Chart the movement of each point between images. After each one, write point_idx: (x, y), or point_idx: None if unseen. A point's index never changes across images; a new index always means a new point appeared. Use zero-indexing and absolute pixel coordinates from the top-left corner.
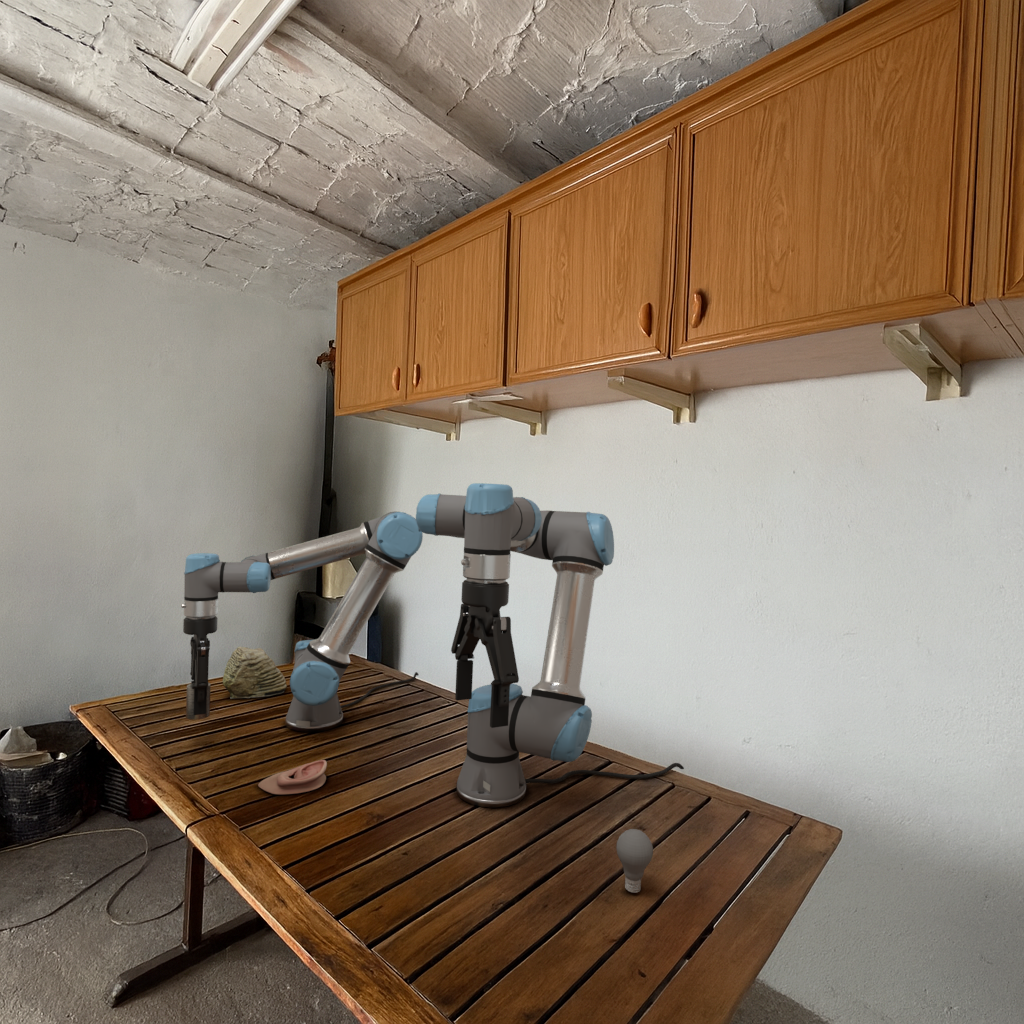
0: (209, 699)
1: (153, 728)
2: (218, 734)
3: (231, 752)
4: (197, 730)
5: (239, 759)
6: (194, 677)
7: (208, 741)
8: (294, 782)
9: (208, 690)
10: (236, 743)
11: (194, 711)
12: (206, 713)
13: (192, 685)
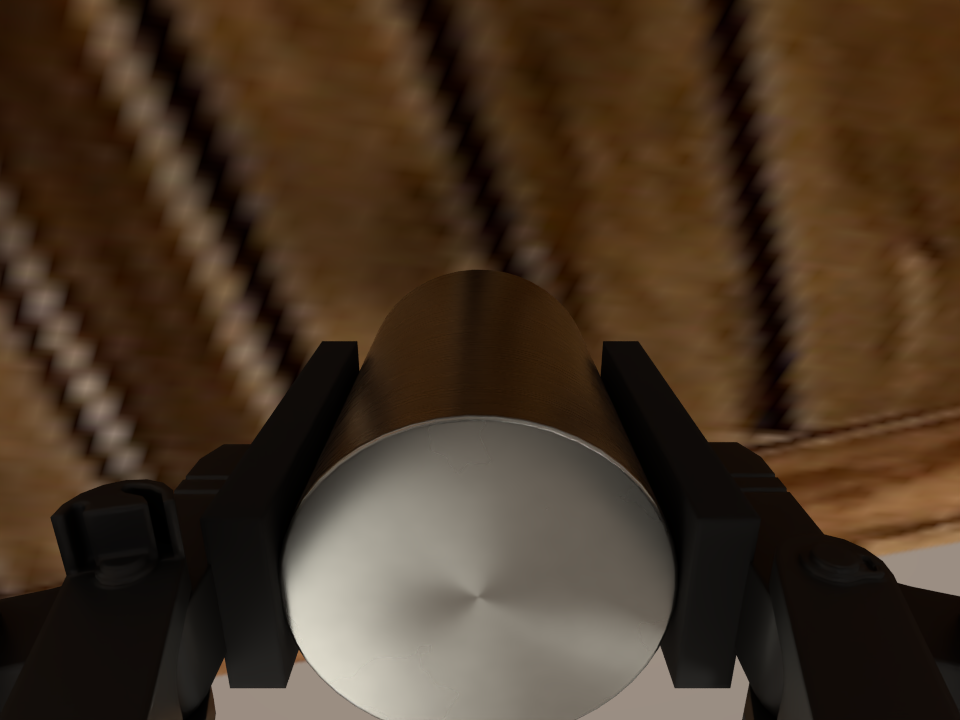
0: (552, 341)
1: (18, 496)
2: (268, 119)
3: (691, 84)
4: (131, 253)
5: (857, 51)
6: (195, 702)
7: (392, 209)
8: None
9: (601, 421)
10: (525, 14)
11: None
12: (573, 324)
13: (459, 676)
